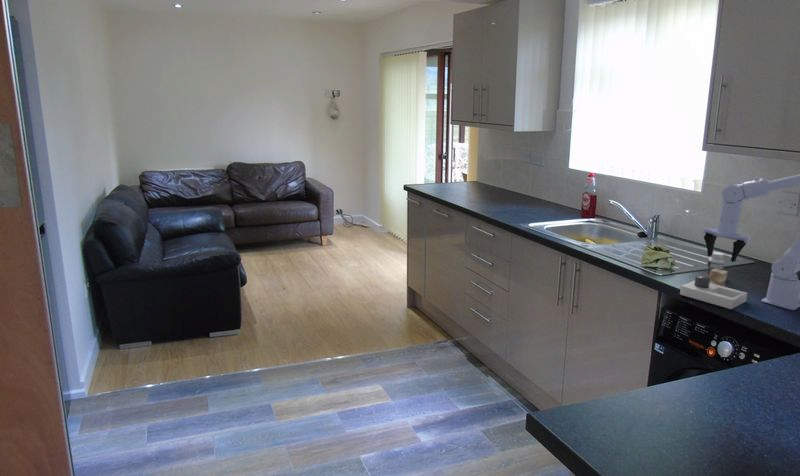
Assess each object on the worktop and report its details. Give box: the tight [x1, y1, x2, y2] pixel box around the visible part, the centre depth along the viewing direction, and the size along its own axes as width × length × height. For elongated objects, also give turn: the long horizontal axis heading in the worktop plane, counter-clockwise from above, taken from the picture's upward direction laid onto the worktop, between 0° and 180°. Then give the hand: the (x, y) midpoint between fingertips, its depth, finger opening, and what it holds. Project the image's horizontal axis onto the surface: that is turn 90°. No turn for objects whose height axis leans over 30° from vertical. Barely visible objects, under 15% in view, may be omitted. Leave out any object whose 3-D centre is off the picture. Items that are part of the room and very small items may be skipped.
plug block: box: [709, 269, 728, 287], centre depth 198 cm, size 4×4×6 cm
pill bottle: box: [705, 251, 725, 277], centre depth 210 cm, size 5×5×9 cm
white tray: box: [679, 274, 748, 310], centre depth 186 cm, size 16×12×6 cm
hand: (721, 258), depth 196 cm, fingers open, 7 cm apart
